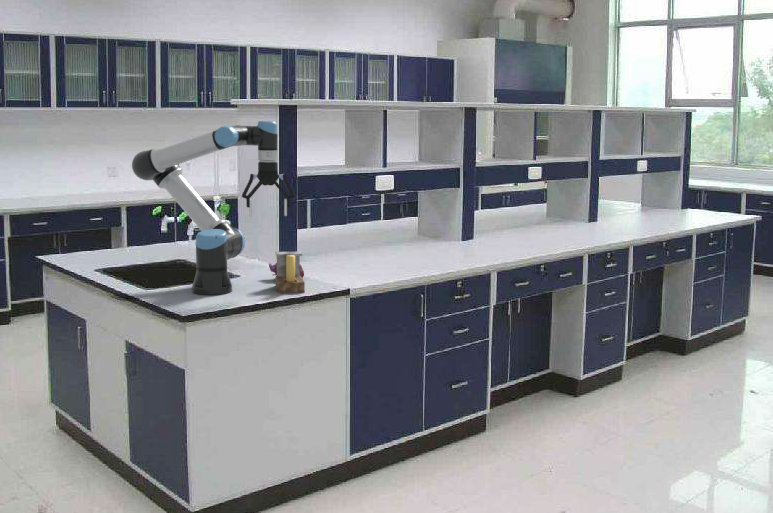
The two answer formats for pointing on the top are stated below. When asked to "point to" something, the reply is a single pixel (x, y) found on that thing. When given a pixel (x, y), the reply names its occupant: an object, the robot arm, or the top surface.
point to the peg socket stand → (281, 274)
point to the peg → (290, 268)
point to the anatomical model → (274, 269)
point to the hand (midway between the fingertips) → (268, 215)
